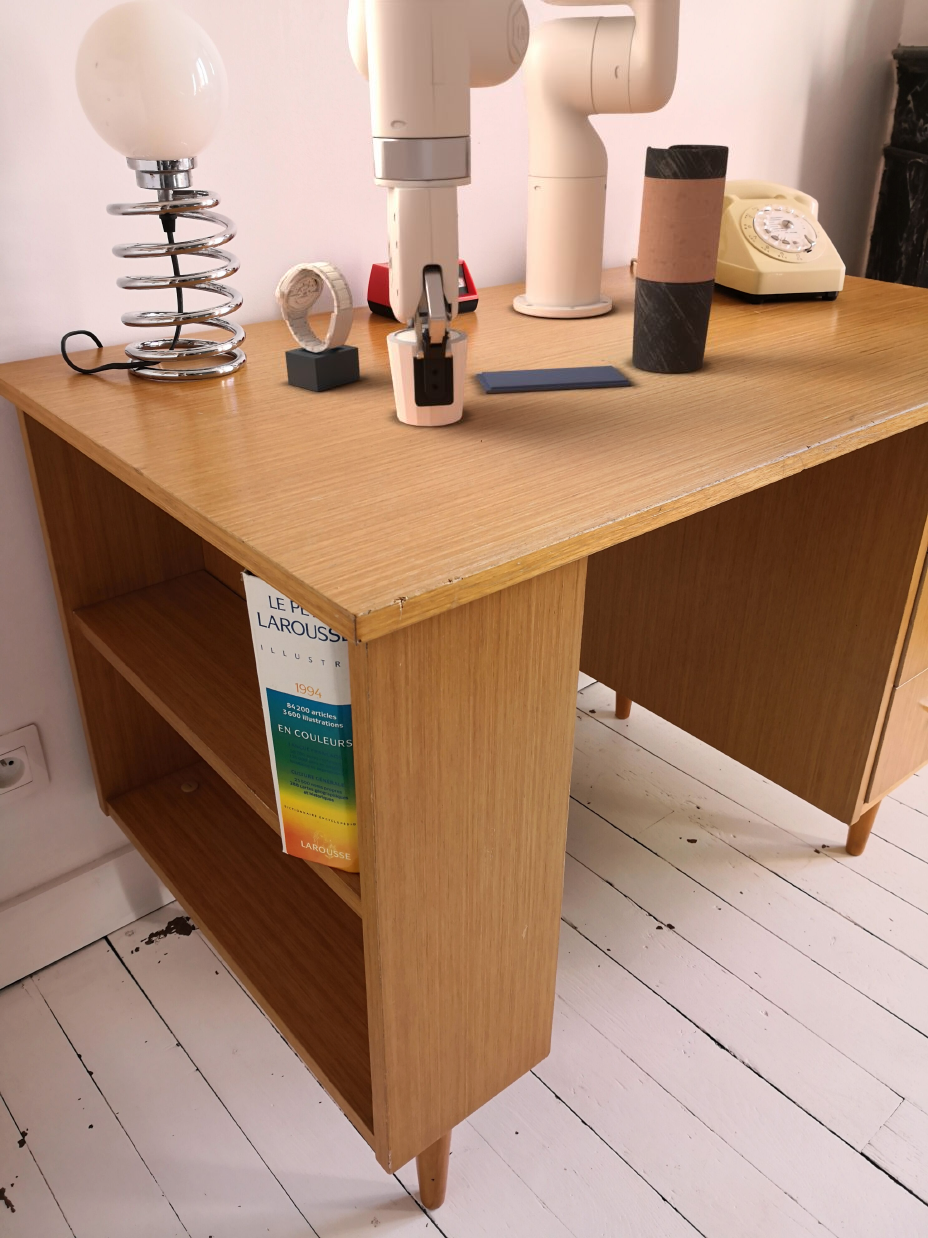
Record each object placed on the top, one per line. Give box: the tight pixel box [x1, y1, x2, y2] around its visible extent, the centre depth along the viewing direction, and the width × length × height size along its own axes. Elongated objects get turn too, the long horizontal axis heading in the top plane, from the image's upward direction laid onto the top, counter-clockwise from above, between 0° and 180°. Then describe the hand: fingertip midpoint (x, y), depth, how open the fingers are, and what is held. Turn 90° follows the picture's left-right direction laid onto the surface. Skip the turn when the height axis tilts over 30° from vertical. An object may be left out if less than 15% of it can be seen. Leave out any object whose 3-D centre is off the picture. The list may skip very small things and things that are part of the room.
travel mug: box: [631, 144, 730, 374], centre depth 92 cm, size 8×8×20 cm
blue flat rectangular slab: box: [475, 365, 632, 394], centre depth 92 cm, size 6×14×1 cm, turn 98°
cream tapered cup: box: [386, 327, 469, 427], centre depth 81 cm, size 7×7×7 cm
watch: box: [274, 261, 361, 393], centre depth 90 cm, size 6×8×11 cm
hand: (429, 390), depth 82 cm, fingers closed on cream tapered cup, 6 cm apart
